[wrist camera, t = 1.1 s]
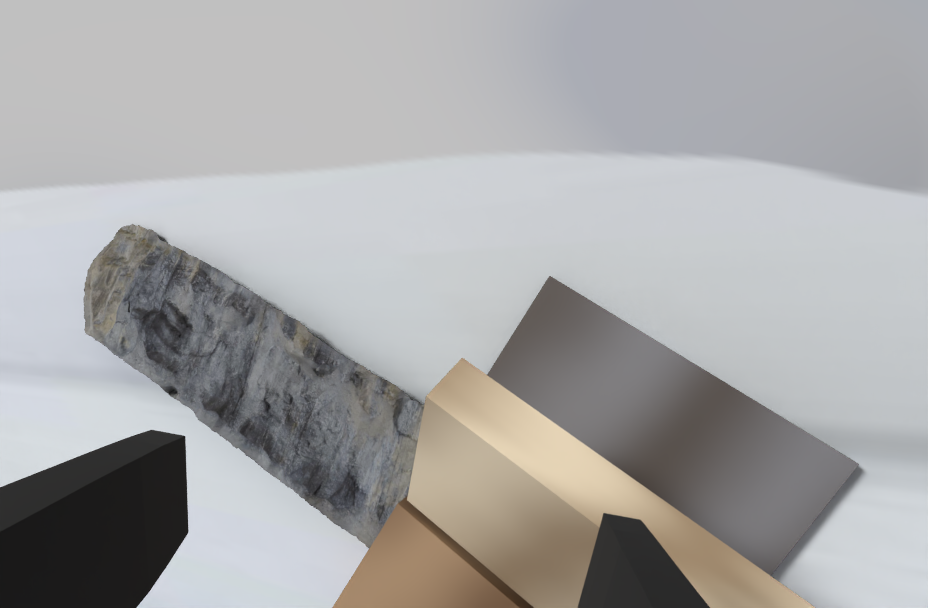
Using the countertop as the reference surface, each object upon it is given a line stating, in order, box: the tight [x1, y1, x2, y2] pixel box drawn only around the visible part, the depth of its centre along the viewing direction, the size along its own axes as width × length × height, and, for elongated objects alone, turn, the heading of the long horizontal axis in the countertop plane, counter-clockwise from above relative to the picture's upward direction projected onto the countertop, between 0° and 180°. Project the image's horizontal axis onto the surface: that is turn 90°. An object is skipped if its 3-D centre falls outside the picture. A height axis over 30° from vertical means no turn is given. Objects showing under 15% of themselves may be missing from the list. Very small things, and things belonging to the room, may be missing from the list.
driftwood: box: [84, 224, 424, 548], centre depth 21 cm, size 21×7×2 cm, turn 61°
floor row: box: [333, 276, 859, 608], centre depth 17 cm, size 11×16×2 cm
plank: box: [407, 358, 815, 608], centre depth 14 cm, size 11×8×2 cm
